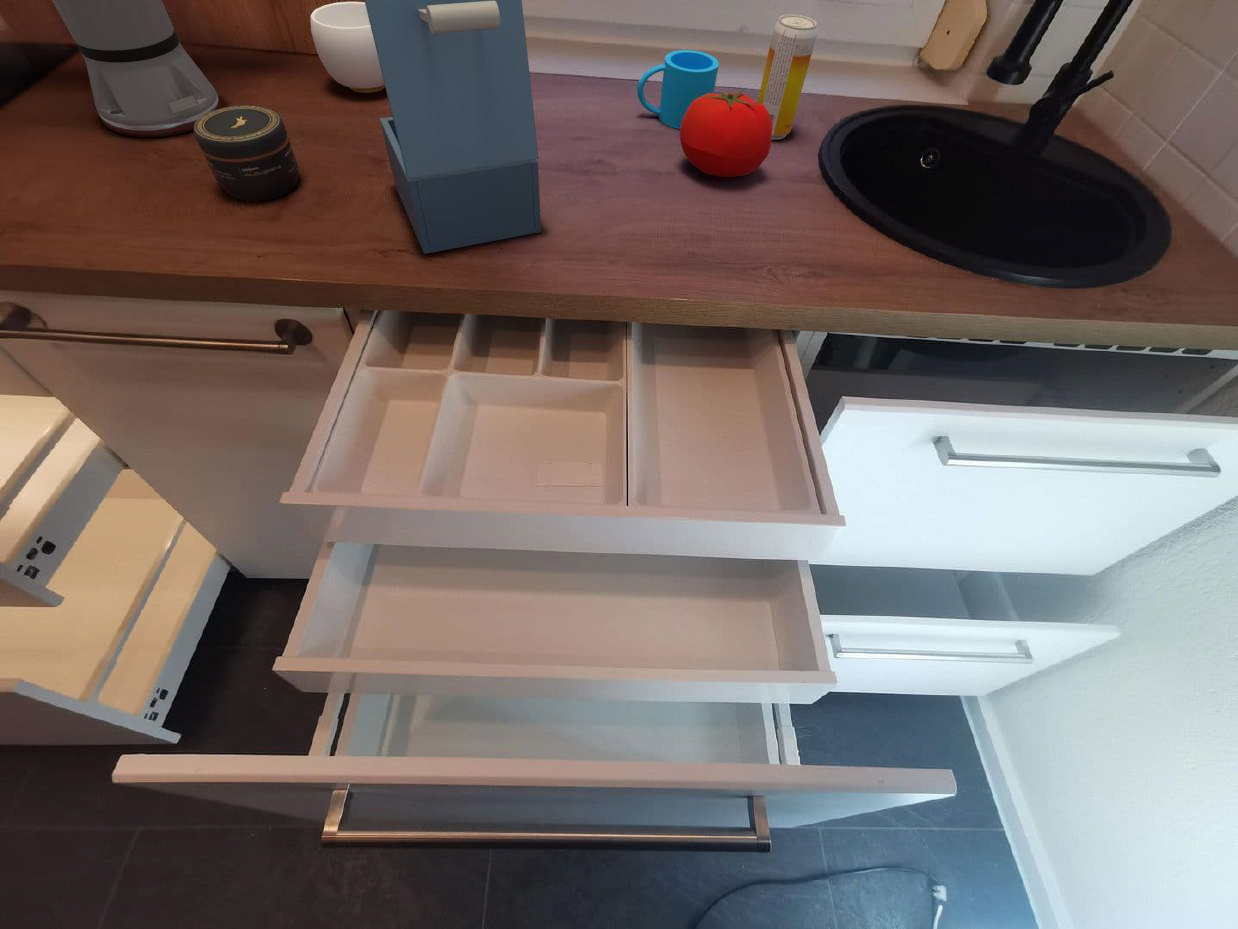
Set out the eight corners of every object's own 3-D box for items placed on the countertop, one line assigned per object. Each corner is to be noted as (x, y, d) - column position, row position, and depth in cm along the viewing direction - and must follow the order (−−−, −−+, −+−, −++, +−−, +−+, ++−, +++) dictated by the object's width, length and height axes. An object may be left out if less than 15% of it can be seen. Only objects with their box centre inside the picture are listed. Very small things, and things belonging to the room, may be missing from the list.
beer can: (793, 129, 99) (824, 19, 87) (783, 144, 95) (813, 32, 84) (757, 119, 100) (782, 9, 88) (746, 134, 97) (770, 22, 85)
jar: (295, 158, 84) (274, 98, 78) (311, 194, 79) (289, 133, 73) (215, 172, 81) (186, 110, 75) (226, 211, 76) (196, 147, 70)
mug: (705, 107, 102) (714, 51, 95) (712, 130, 97) (723, 72, 90) (632, 104, 101) (637, 47, 94) (637, 128, 96) (641, 69, 89)
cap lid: (359, -18, 55) (371, -14, 50) (516, -27, 59) (543, -24, 54) (406, 177, 66) (420, 198, 60) (536, 157, 70) (560, 175, 65)
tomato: (761, 195, 86) (781, 118, 78) (671, 182, 86) (681, 104, 78) (763, 157, 92) (782, 83, 84) (680, 145, 93) (690, 70, 85)
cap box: (395, 188, 81) (379, 118, 74) (502, 171, 85) (496, 103, 78) (424, 254, 73) (408, 182, 66) (541, 232, 77) (538, 162, 70)
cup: (408, 101, 97) (394, 29, 89) (325, 104, 94) (303, 30, 87) (406, 68, 104) (393, -1, 96) (328, 70, 101) (308, 0, 94)
